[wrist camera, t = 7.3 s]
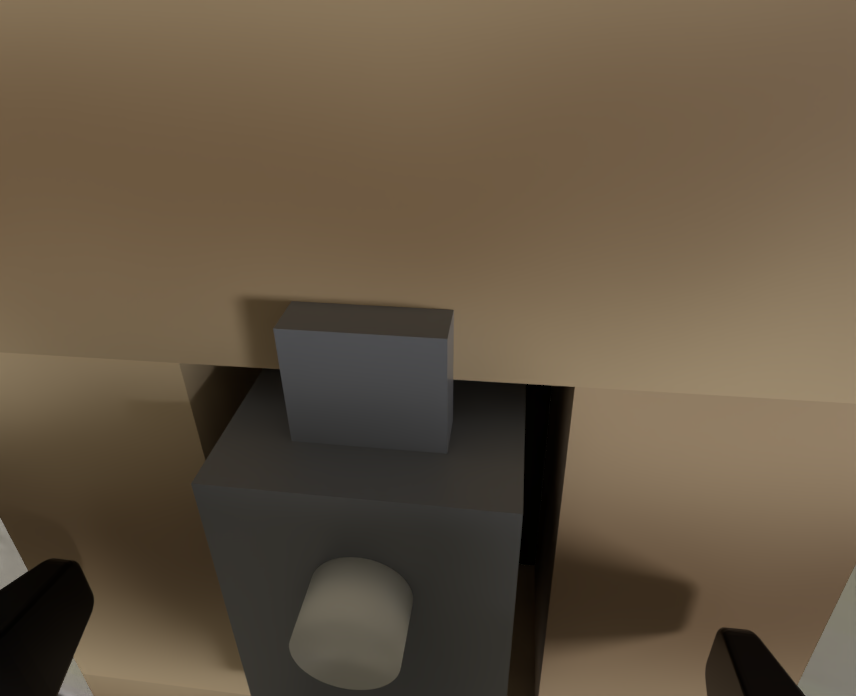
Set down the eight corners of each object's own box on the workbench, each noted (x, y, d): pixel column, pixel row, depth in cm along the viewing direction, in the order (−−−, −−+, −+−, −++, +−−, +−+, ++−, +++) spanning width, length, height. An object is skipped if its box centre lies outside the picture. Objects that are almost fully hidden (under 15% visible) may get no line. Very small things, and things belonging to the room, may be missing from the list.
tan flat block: (675, 700, 16) (705, 873, 13) (208, 645, 17) (142, 788, 15) (923, -88, 7) (1177, -104, 4) (-28, -60, 9) (-301, -57, 6)
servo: (505, 585, 15) (491, 907, 10) (353, 569, 15) (267, 870, 10) (534, 198, 10) (533, 453, 5) (310, 191, 10) (112, 419, 5)
